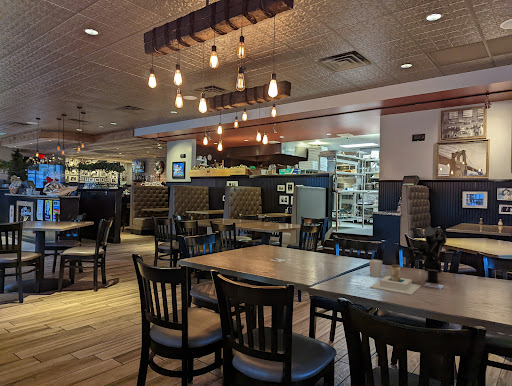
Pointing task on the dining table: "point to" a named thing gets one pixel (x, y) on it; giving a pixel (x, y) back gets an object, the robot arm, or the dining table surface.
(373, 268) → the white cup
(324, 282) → the dining table surface
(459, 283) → the dining table surface
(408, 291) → the cream stepped platform
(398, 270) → the tan cylinder
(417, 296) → the dining table surface
